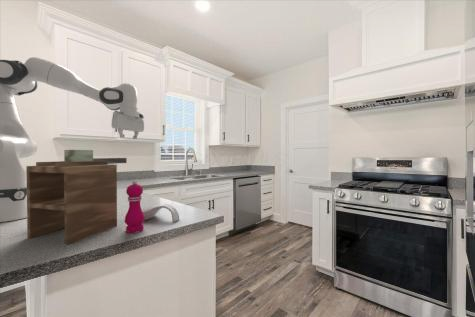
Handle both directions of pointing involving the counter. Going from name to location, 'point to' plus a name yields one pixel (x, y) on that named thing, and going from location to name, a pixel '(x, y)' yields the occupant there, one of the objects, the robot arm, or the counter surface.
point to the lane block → (88, 157)
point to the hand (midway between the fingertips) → (128, 138)
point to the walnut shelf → (71, 198)
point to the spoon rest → (152, 211)
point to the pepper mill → (134, 209)
